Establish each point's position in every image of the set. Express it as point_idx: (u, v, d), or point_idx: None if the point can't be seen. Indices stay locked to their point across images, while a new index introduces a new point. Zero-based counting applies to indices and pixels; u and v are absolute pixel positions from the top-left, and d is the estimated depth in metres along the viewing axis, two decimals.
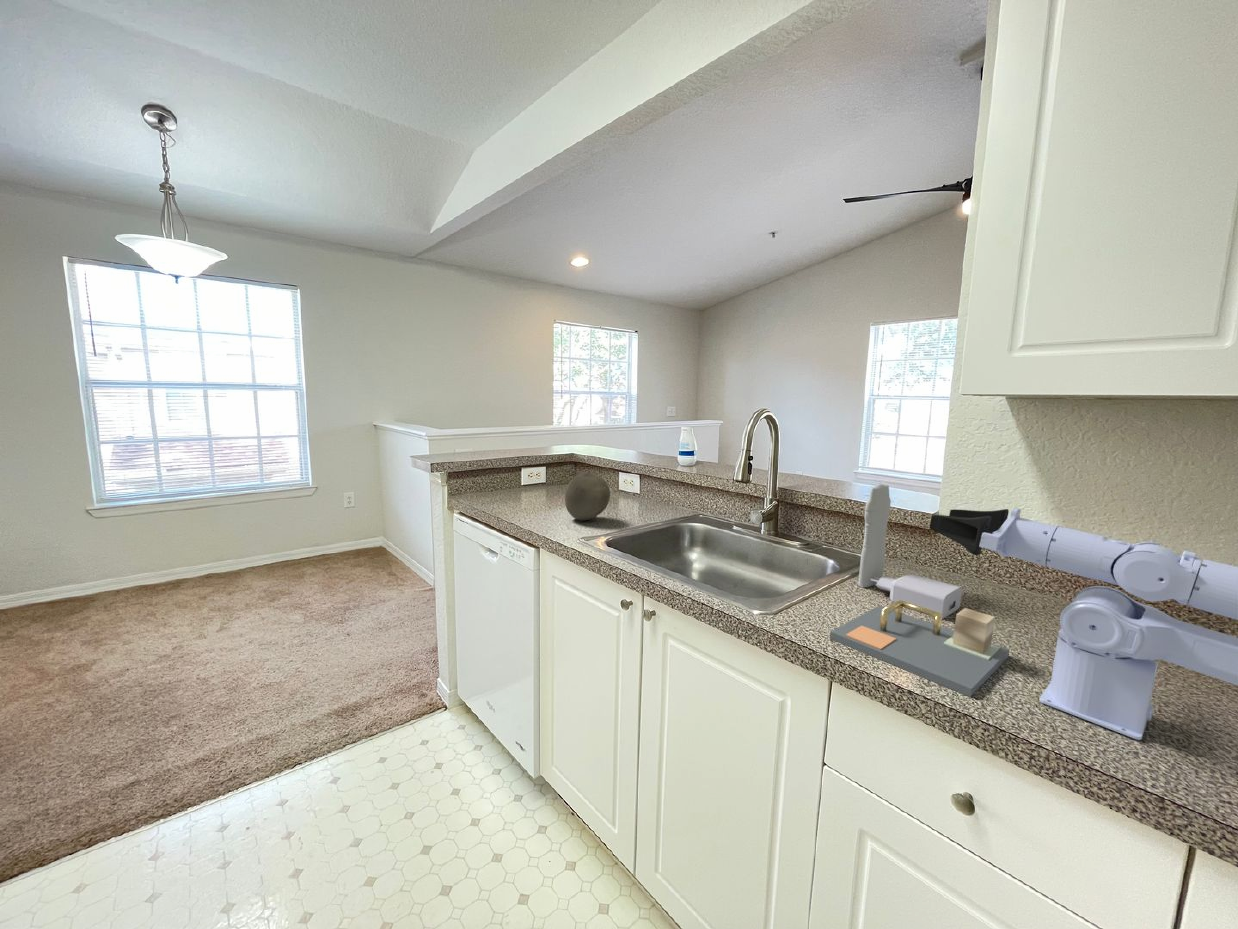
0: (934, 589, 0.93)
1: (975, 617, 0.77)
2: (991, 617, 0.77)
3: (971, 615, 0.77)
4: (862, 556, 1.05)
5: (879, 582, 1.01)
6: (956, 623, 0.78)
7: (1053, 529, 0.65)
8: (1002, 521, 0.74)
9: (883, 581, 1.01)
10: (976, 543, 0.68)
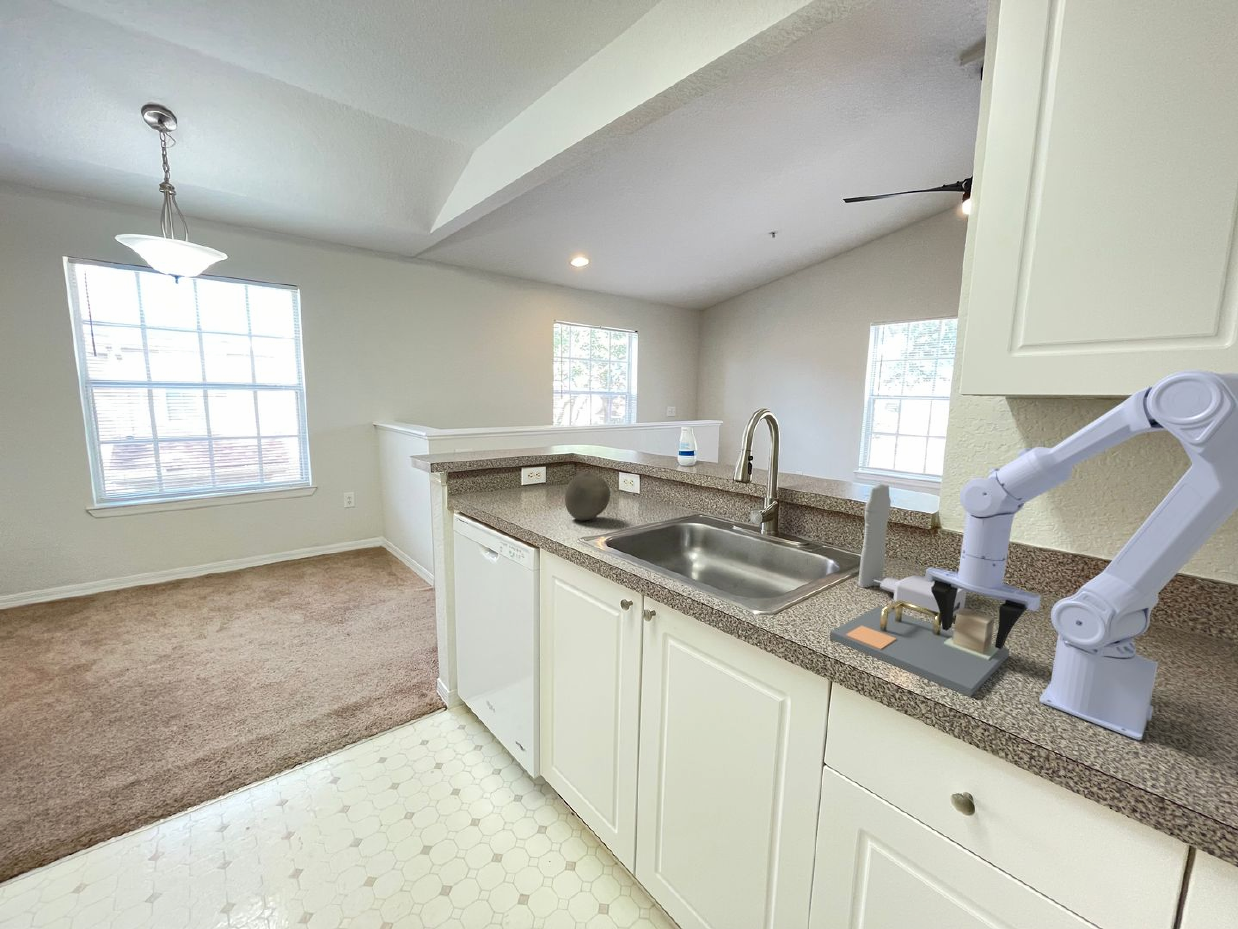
0: None
1: (975, 617, 0.77)
2: (991, 617, 0.77)
3: (971, 615, 0.77)
4: (862, 556, 1.05)
5: (883, 583, 1.01)
6: (956, 623, 0.78)
7: None
8: None
9: (887, 582, 1.00)
10: None
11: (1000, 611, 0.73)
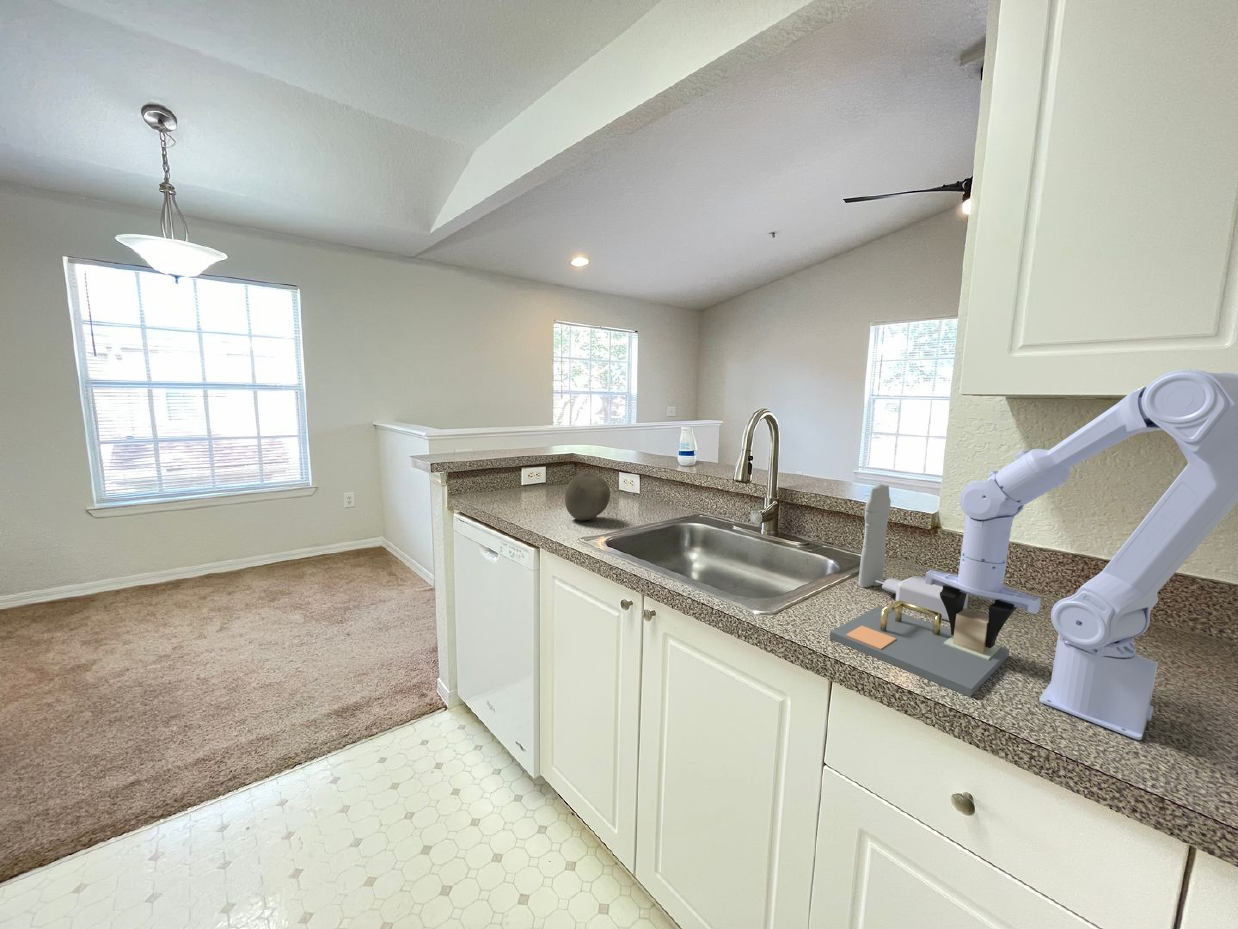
0: None
1: (975, 617, 0.77)
2: None
3: (971, 615, 0.77)
4: (862, 556, 1.05)
5: (885, 584, 1.00)
6: (956, 623, 0.78)
7: None
8: None
9: (889, 583, 1.00)
10: None
11: (989, 611, 0.74)
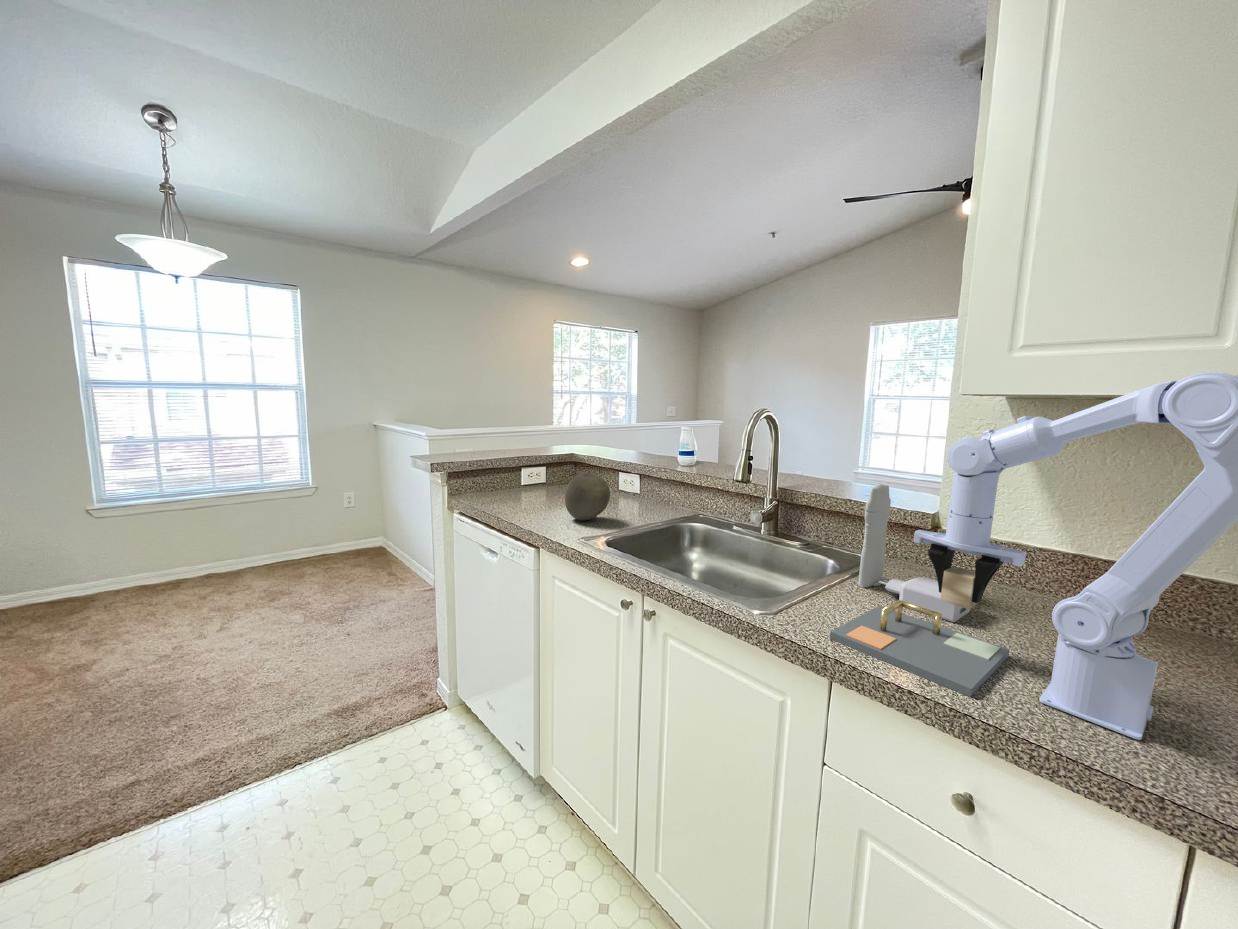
0: None
1: (963, 574, 0.78)
2: None
3: (959, 572, 0.78)
4: (862, 556, 1.05)
5: (888, 585, 1.00)
6: (944, 580, 0.79)
7: None
8: None
9: (892, 584, 1.00)
10: None
11: (976, 565, 0.75)
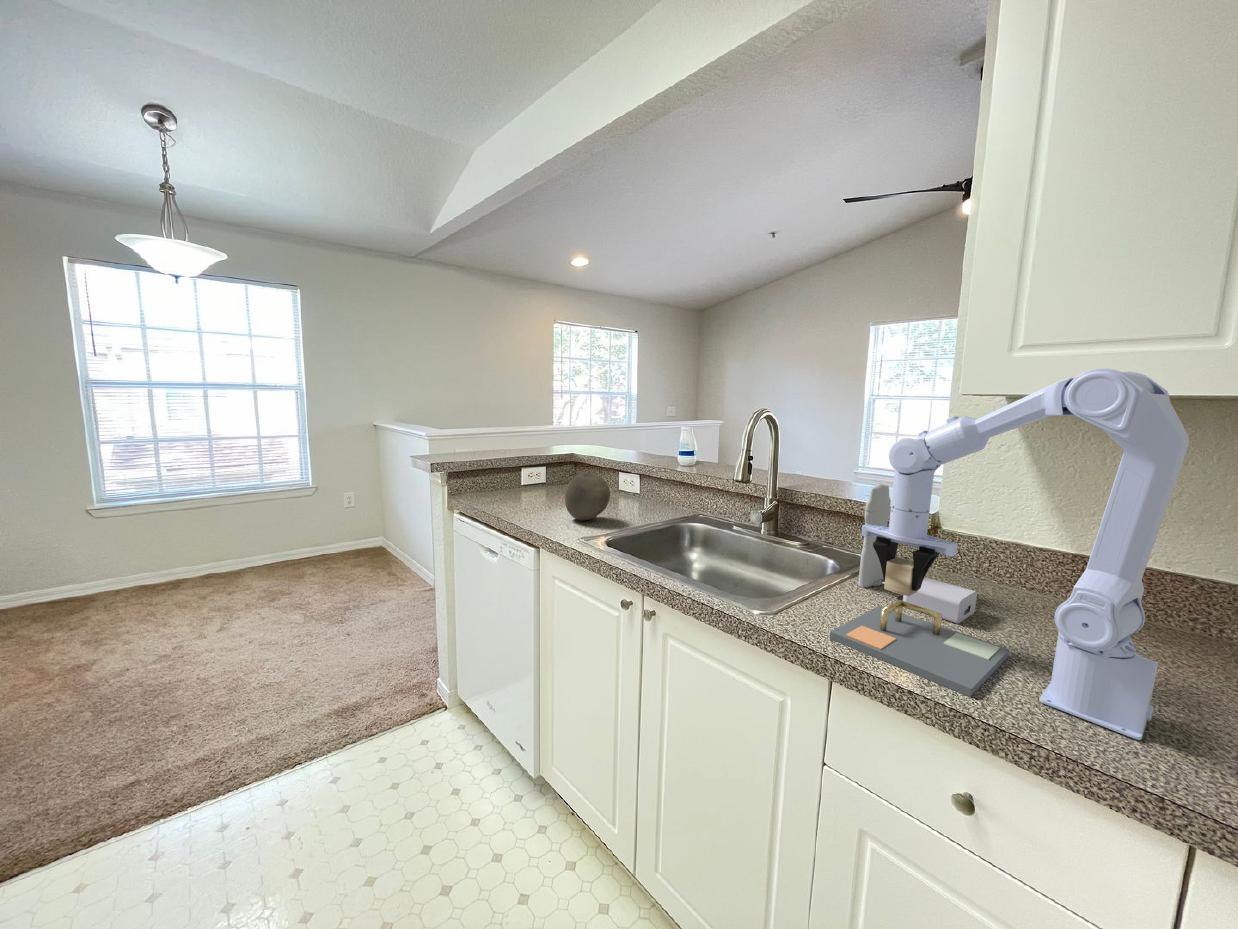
0: (949, 593, 0.91)
1: (903, 564, 0.84)
2: None
3: (900, 562, 0.85)
4: (862, 556, 1.05)
5: None
6: (887, 570, 0.85)
7: None
8: None
9: None
10: None
11: (913, 556, 0.81)
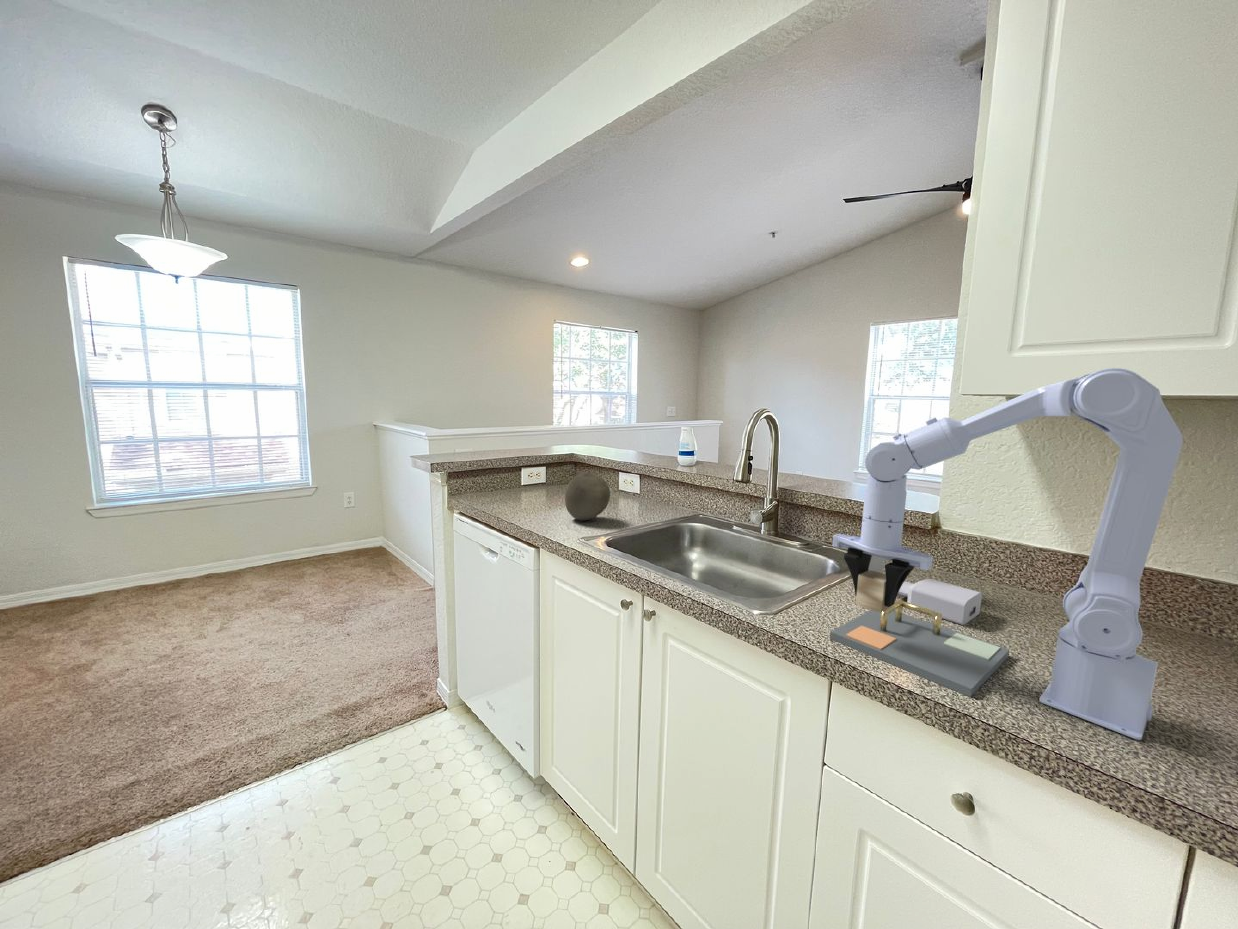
0: (954, 594, 0.91)
1: (876, 577, 0.78)
2: None
3: (873, 576, 0.79)
4: None
5: None
6: (858, 583, 0.79)
7: None
8: None
9: None
10: None
11: (886, 569, 0.75)
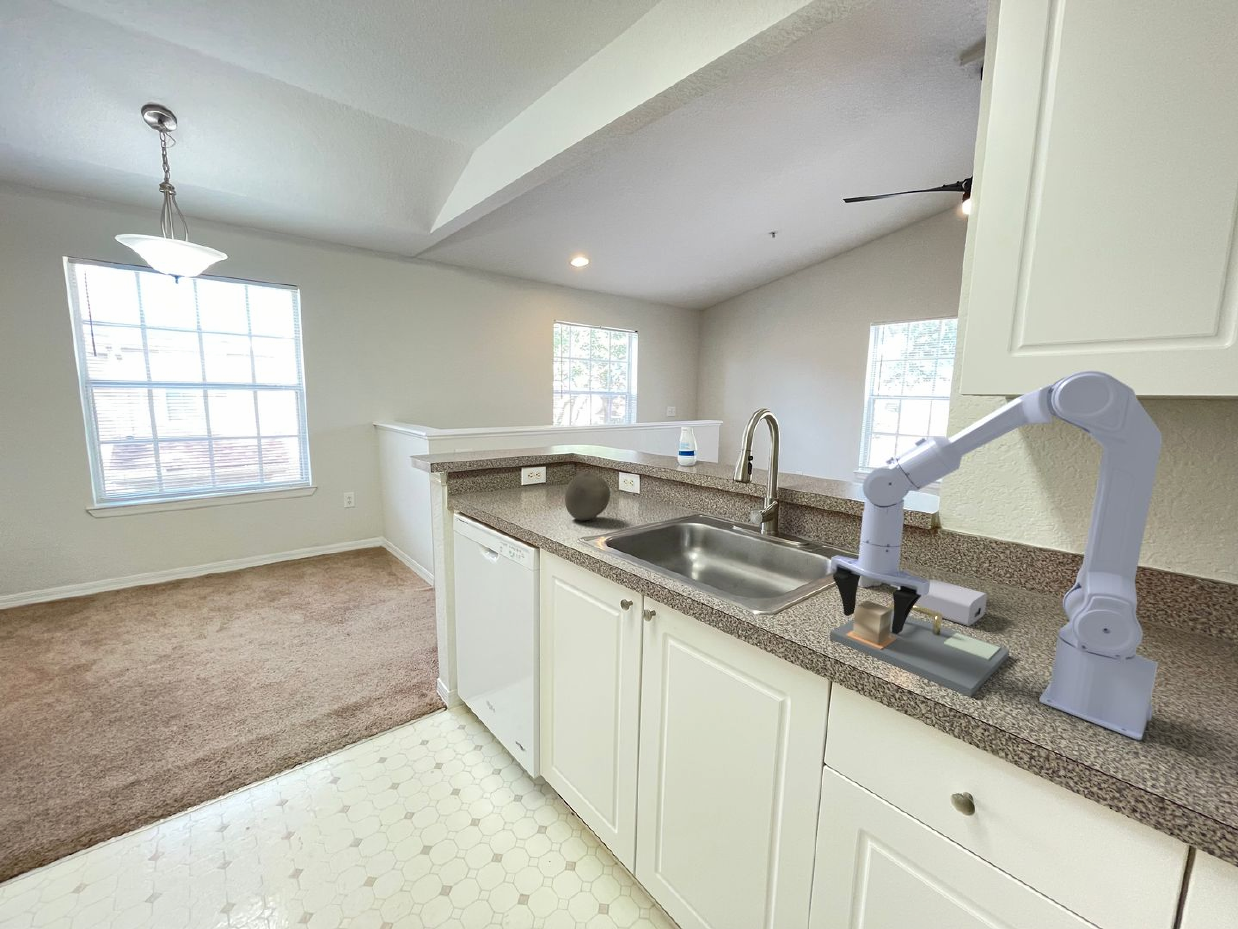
0: (959, 595, 0.90)
1: (872, 609, 0.79)
2: (888, 609, 0.79)
3: (869, 608, 0.79)
4: None
5: None
6: (855, 615, 0.80)
7: None
8: None
9: None
10: None
11: (894, 597, 0.74)
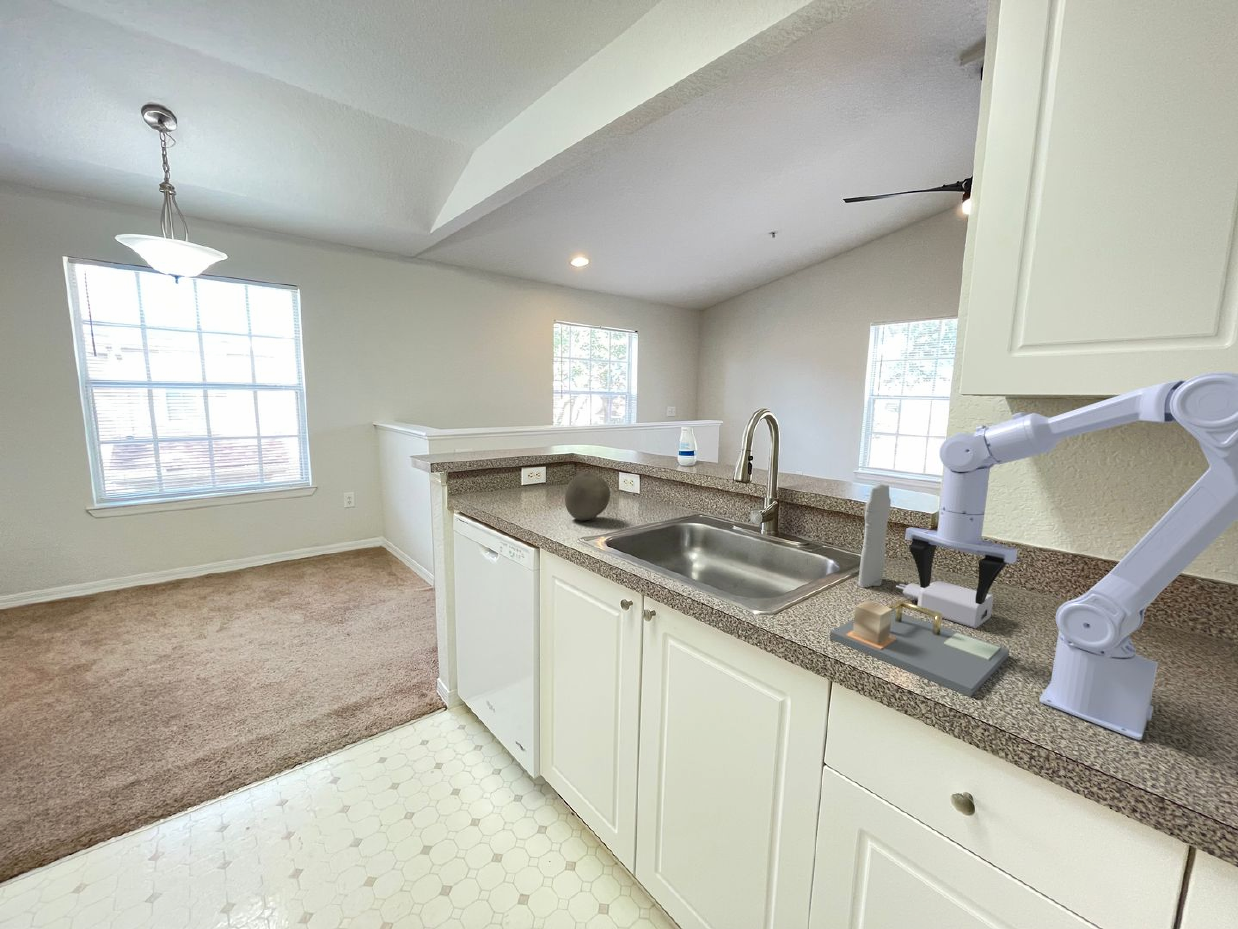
0: (965, 597, 0.89)
1: (872, 609, 0.79)
2: (888, 609, 0.79)
3: (869, 608, 0.79)
4: (862, 556, 1.05)
5: (906, 589, 0.98)
6: (855, 615, 0.80)
7: None
8: None
9: (910, 588, 0.97)
10: None
11: (979, 565, 0.73)
